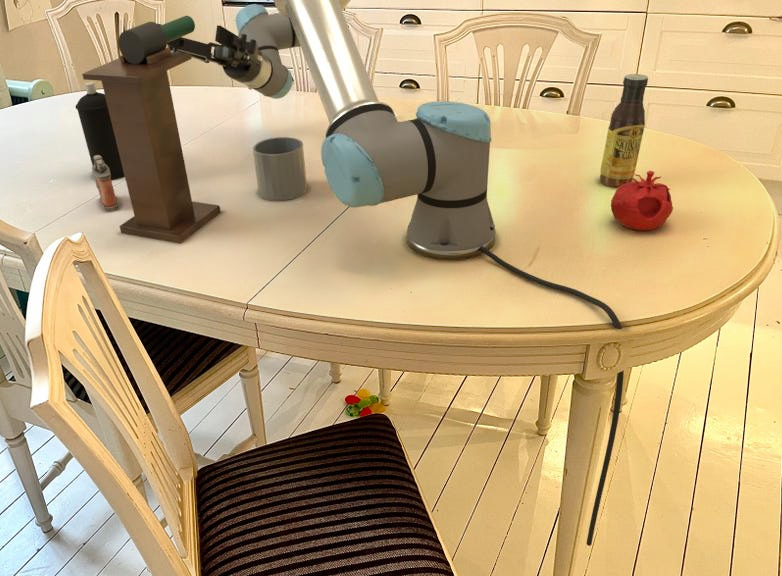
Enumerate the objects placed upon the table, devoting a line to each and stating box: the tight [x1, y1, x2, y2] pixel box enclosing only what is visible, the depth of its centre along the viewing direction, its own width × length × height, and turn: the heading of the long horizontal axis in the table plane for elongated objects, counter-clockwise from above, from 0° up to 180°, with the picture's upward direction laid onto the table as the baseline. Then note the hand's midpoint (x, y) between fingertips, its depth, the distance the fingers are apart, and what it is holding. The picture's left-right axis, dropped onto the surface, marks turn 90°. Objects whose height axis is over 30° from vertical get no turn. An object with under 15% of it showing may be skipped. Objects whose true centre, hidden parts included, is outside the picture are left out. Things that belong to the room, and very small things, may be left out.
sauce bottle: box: [599, 73, 649, 188], centre depth 138 cm, size 6×6×20 cm
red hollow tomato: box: [610, 170, 674, 231], centre depth 127 cm, size 10×10×9 cm
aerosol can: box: [74, 81, 125, 181], centre depth 163 cm, size 8×8×20 cm
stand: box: [81, 47, 222, 244], centre depth 136 cm, size 15×14×31 cm
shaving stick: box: [118, 15, 196, 64], centre depth 131 cm, size 17×5×5 cm, turn 153°
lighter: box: [91, 155, 119, 212], centre depth 152 cm, size 8×3×10 cm, turn 22°
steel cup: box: [252, 136, 308, 202], centre depth 150 cm, size 10×10×10 cm
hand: (187, 32), depth 137 cm, fingers open, 13 cm apart
